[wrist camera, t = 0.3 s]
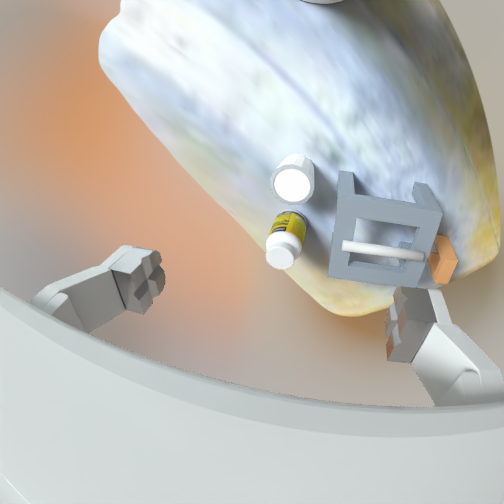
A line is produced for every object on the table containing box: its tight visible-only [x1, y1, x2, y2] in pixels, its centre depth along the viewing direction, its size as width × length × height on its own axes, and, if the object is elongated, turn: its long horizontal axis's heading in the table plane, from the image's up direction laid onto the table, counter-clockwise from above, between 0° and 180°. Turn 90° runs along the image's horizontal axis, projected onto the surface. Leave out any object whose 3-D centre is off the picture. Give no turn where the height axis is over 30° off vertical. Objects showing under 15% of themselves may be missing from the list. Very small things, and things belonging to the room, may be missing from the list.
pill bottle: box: [266, 210, 307, 269], centre depth 50 cm, size 6×6×11 cm
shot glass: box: [270, 154, 314, 205], centre depth 44 cm, size 7×7×7 cm
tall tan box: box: [428, 234, 458, 284], centre depth 44 cm, size 6×3×8 cm, turn 3°
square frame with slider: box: [328, 171, 443, 288], centre depth 43 cm, size 15×16×12 cm
